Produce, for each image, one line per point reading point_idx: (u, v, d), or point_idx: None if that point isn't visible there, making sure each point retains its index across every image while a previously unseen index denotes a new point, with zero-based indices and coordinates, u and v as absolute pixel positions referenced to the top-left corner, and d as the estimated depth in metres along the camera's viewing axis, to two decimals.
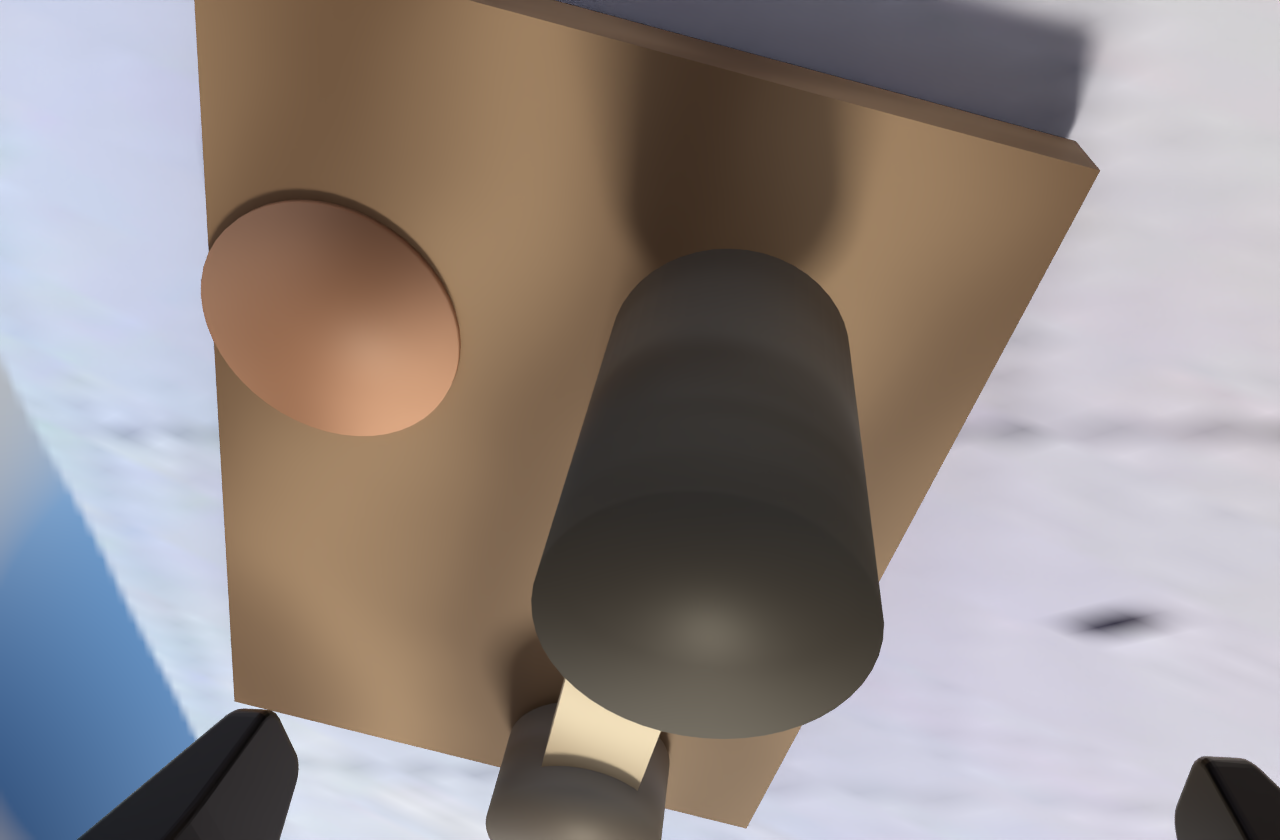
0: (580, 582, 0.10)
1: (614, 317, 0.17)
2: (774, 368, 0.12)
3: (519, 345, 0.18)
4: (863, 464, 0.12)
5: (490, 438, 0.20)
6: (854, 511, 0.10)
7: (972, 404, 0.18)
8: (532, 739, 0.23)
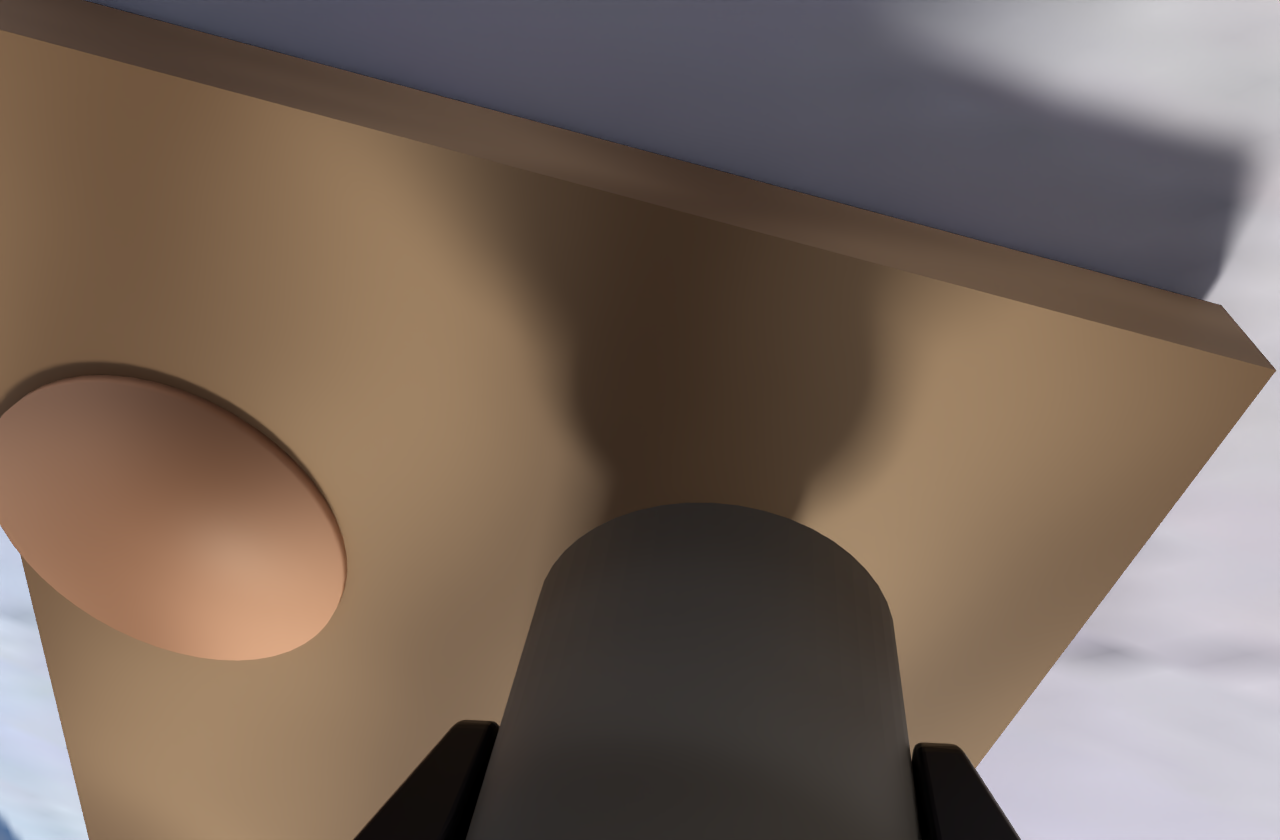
0: None
1: (555, 533, 0.12)
2: (783, 824, 0.06)
3: (426, 561, 0.13)
4: None
5: (396, 665, 0.14)
6: None
7: (1058, 654, 0.13)
8: None
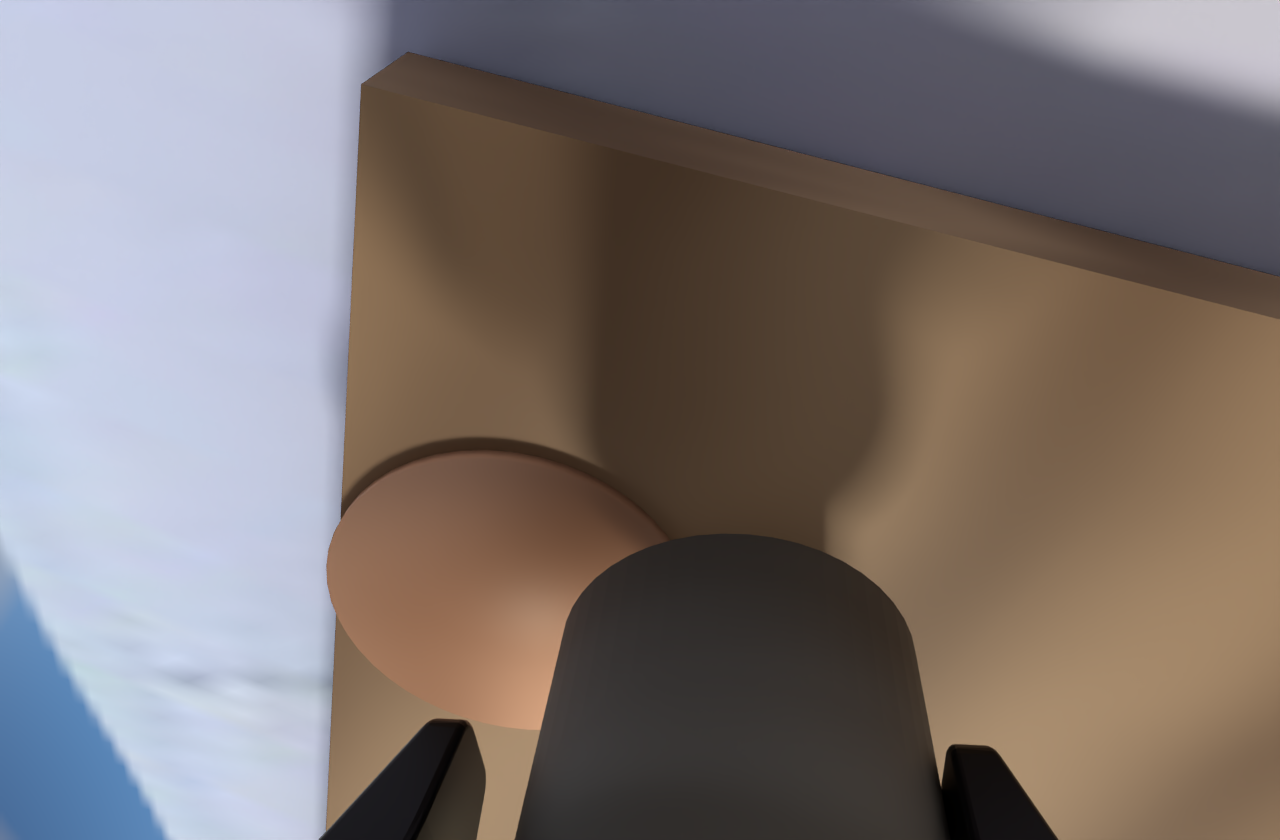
0: None
1: (925, 601, 0.12)
2: (736, 837, 0.07)
3: None
4: None
5: None
6: None
7: None
8: None
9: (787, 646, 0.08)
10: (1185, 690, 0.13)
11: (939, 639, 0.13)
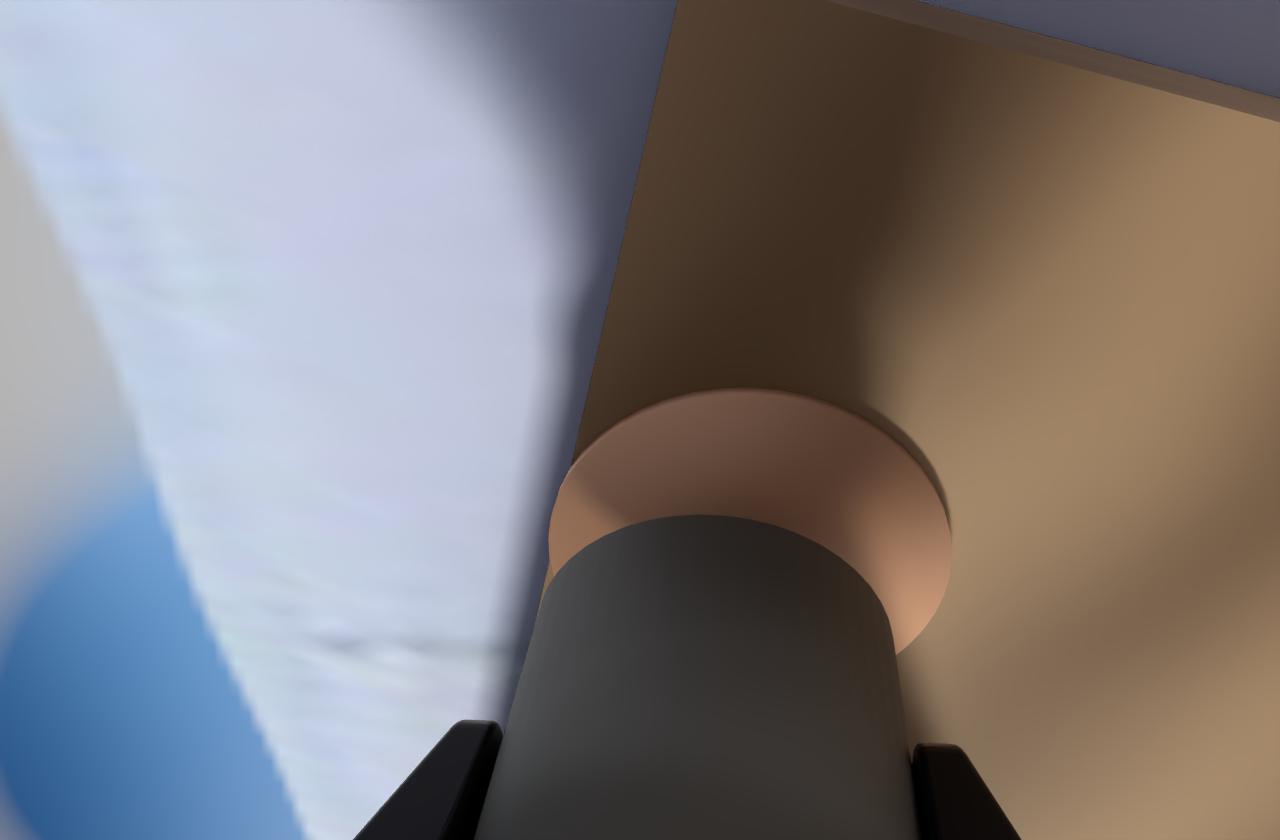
0: None
1: (1210, 557, 0.11)
2: (623, 816, 0.07)
3: (1035, 590, 0.12)
4: None
5: (940, 701, 0.13)
6: None
7: None
8: None
9: (697, 619, 0.08)
10: None
11: (1216, 600, 0.12)
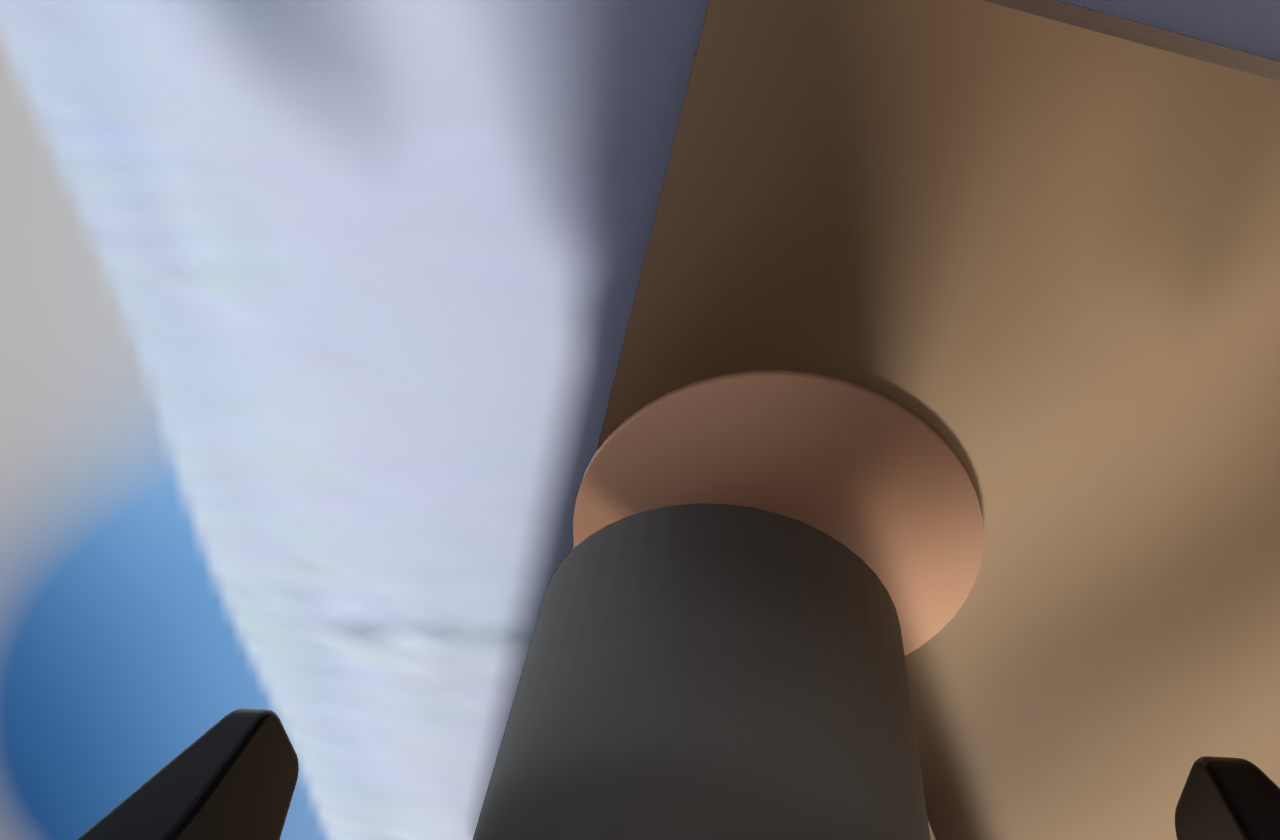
0: None
1: (1248, 547, 0.11)
2: (620, 806, 0.07)
3: (1067, 578, 0.12)
4: None
5: (966, 691, 0.13)
6: None
7: None
8: None
9: (699, 608, 0.08)
10: None
11: (1253, 590, 0.11)
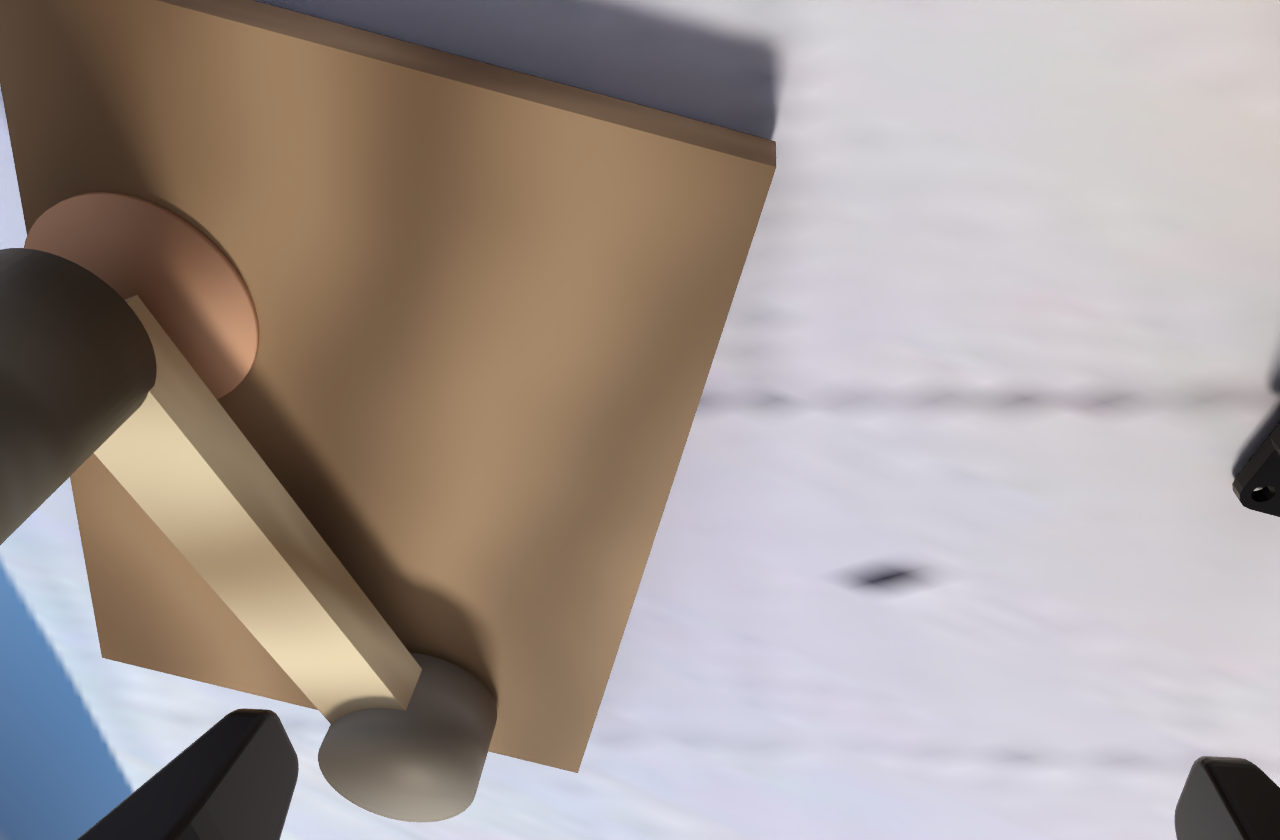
0: None
1: (388, 297, 0.20)
2: None
3: (309, 323, 0.20)
4: None
5: (296, 407, 0.22)
6: None
7: (707, 374, 0.20)
8: None
9: None
10: (561, 361, 0.20)
11: (406, 326, 0.20)
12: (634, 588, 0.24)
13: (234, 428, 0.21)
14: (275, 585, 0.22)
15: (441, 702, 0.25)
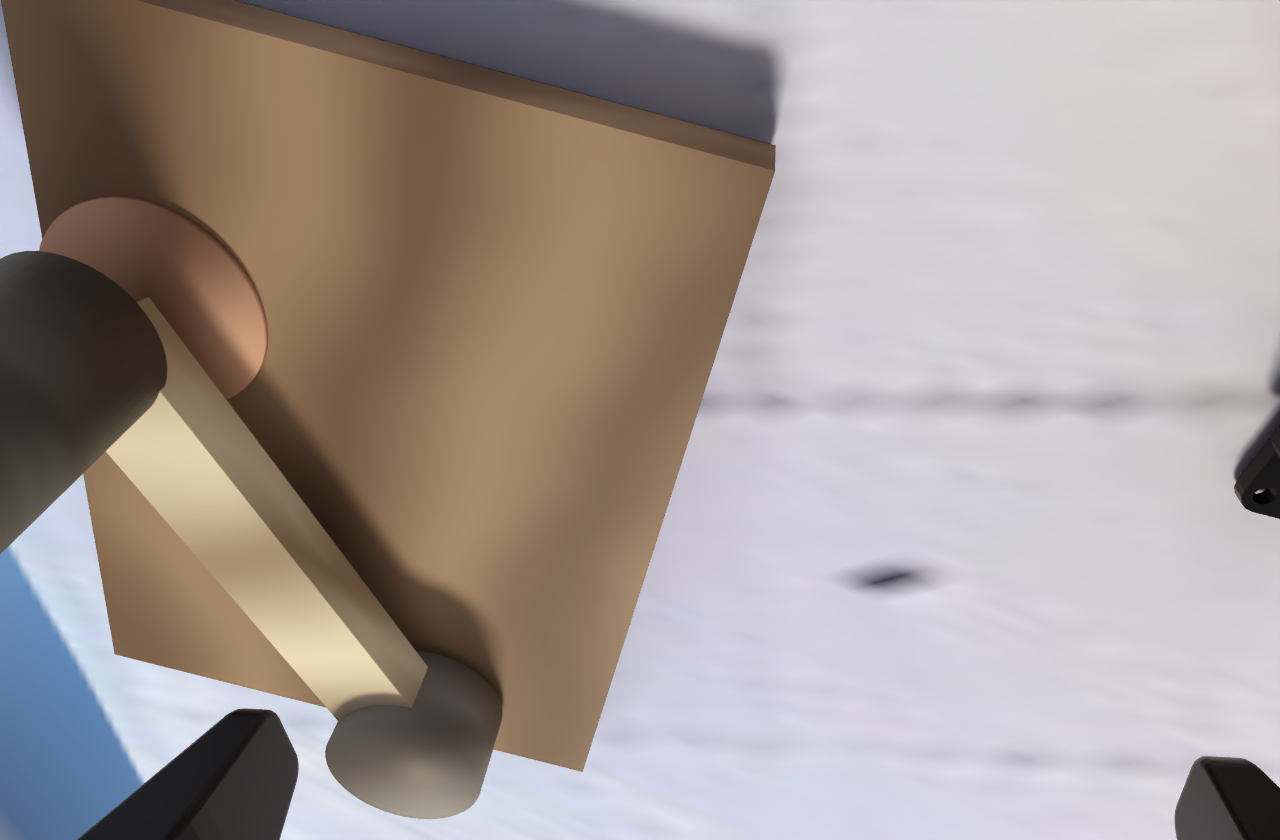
0: None
1: (394, 299, 0.20)
2: None
3: (317, 324, 0.21)
4: None
5: (304, 408, 0.22)
6: None
7: (708, 375, 0.20)
8: None
9: None
10: (564, 362, 0.20)
11: (411, 328, 0.20)
12: (637, 588, 0.24)
13: (243, 428, 0.22)
14: (283, 583, 0.22)
15: (446, 700, 0.25)
